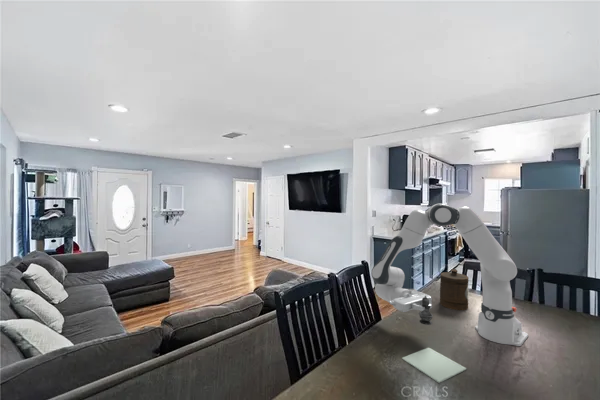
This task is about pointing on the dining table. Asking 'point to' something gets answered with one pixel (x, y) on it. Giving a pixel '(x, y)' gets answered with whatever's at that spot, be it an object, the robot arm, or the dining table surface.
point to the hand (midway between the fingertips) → (427, 307)
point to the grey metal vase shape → (425, 312)
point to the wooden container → (454, 290)
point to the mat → (434, 364)
